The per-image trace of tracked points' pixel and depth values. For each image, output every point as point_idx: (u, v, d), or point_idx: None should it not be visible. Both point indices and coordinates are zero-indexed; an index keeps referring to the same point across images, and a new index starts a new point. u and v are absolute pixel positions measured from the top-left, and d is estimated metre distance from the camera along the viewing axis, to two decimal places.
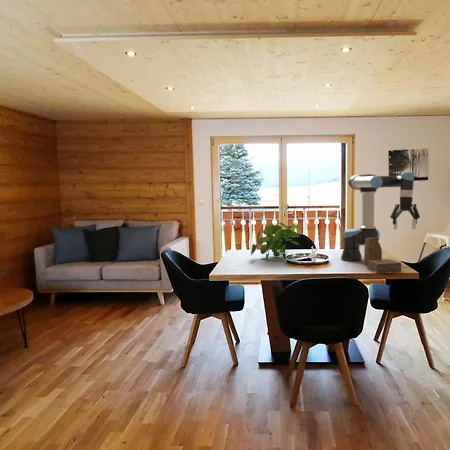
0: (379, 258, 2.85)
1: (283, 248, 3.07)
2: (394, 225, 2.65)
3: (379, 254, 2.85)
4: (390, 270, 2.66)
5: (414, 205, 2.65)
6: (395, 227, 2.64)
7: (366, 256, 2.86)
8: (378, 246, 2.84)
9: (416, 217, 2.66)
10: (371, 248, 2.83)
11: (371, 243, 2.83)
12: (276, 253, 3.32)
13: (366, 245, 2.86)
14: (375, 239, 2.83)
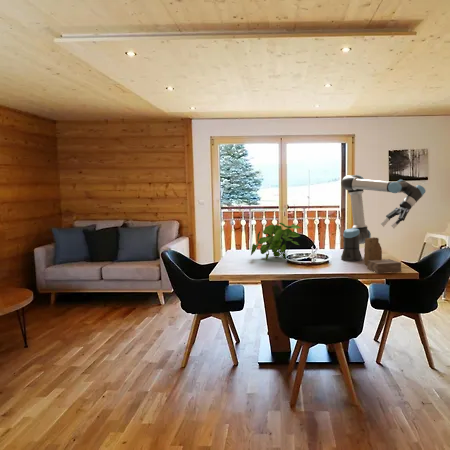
0: (379, 258, 2.85)
1: (283, 248, 3.07)
2: (394, 224, 2.80)
3: (379, 254, 2.85)
4: (390, 270, 2.66)
5: None
6: (394, 226, 2.80)
7: (366, 256, 2.86)
8: (378, 246, 2.84)
9: (389, 218, 2.95)
10: (371, 248, 2.83)
11: (371, 243, 2.83)
12: (276, 253, 3.32)
13: (366, 245, 2.86)
14: (375, 239, 2.83)
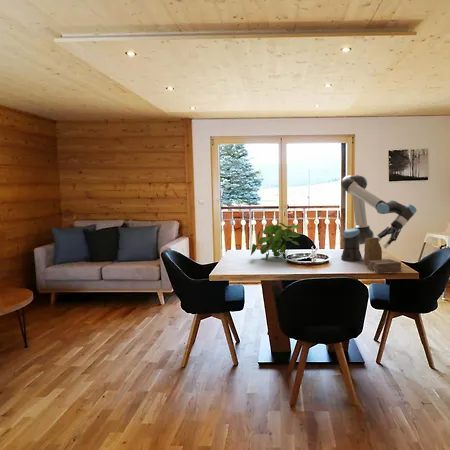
0: (379, 258, 2.85)
1: (283, 248, 3.07)
2: (386, 244, 2.79)
3: (379, 254, 2.85)
4: (390, 270, 2.66)
5: None
6: (386, 246, 2.79)
7: (366, 256, 2.86)
8: (378, 246, 2.84)
9: (381, 237, 2.94)
10: (371, 248, 2.83)
11: (371, 243, 2.83)
12: (276, 253, 3.32)
13: (366, 245, 2.86)
14: (375, 239, 2.83)
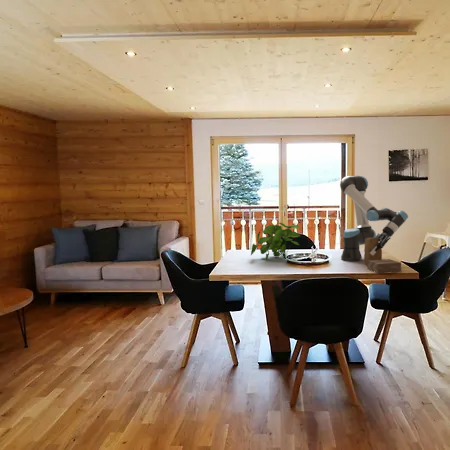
0: (379, 258, 2.85)
1: (283, 248, 3.07)
2: (373, 251, 2.83)
3: (379, 254, 2.84)
4: (390, 270, 2.66)
5: None
6: (373, 253, 2.83)
7: (366, 256, 2.86)
8: None
9: None
10: (371, 248, 2.83)
11: (371, 243, 2.83)
12: (276, 253, 3.32)
13: (366, 245, 2.86)
14: (375, 239, 2.83)
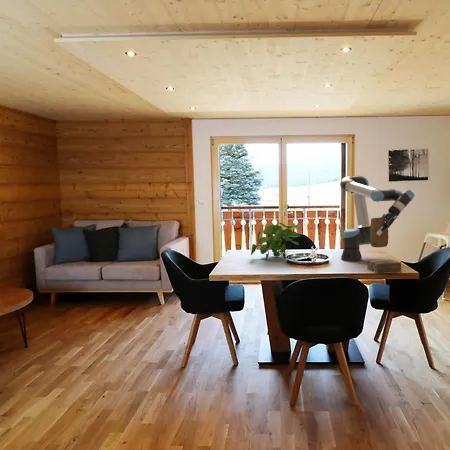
0: (386, 238, 2.76)
1: (283, 248, 3.07)
2: (379, 231, 2.74)
3: (385, 234, 2.76)
4: (390, 270, 2.66)
5: None
6: (379, 233, 2.74)
7: (372, 237, 2.77)
8: None
9: None
10: (377, 228, 2.74)
11: (377, 223, 2.74)
12: (276, 253, 3.32)
13: (372, 225, 2.77)
14: (381, 219, 2.75)
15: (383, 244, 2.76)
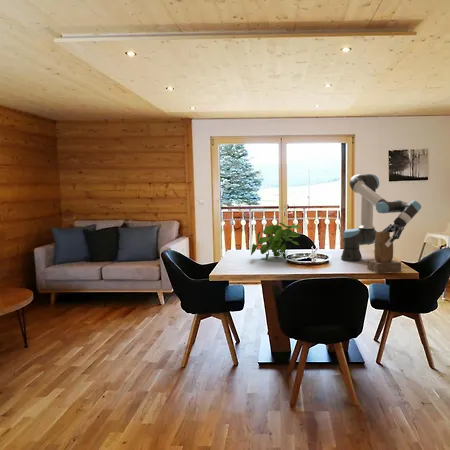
0: (390, 253, 2.68)
1: (283, 248, 3.07)
2: (388, 242, 2.63)
3: (390, 249, 2.68)
4: (390, 270, 2.66)
5: None
6: (388, 245, 2.64)
7: (376, 251, 2.70)
8: None
9: None
10: (382, 242, 2.67)
11: (382, 237, 2.67)
12: (276, 253, 3.32)
13: (376, 240, 2.70)
14: (386, 233, 2.67)
15: (388, 259, 2.68)
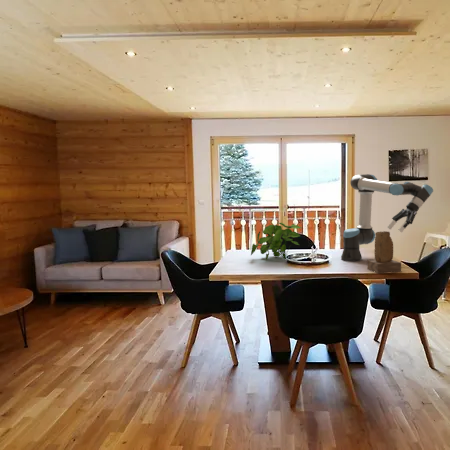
0: (390, 253, 2.68)
1: (283, 248, 3.07)
2: (402, 227, 2.66)
3: (390, 249, 2.68)
4: (390, 270, 2.66)
5: None
6: (402, 230, 2.66)
7: (377, 251, 2.70)
8: (389, 240, 2.67)
9: (396, 220, 2.80)
10: (382, 242, 2.67)
11: (382, 237, 2.66)
12: (276, 253, 3.32)
13: (376, 240, 2.69)
14: (386, 233, 2.67)
15: (388, 259, 2.68)
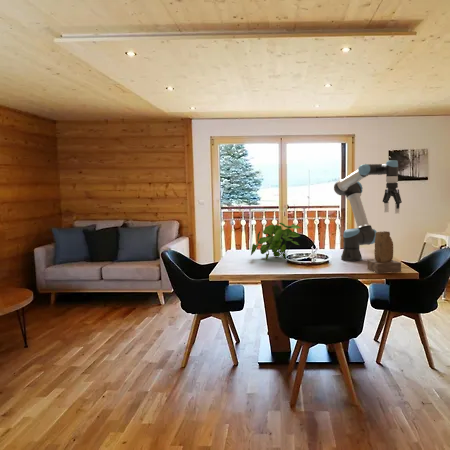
0: (390, 253, 2.68)
1: (283, 248, 3.07)
2: (396, 209, 2.82)
3: (390, 249, 2.68)
4: (390, 270, 2.66)
5: None
6: (398, 211, 2.82)
7: (377, 251, 2.70)
8: (389, 240, 2.67)
9: (387, 201, 2.96)
10: (382, 242, 2.67)
11: (382, 237, 2.66)
12: (276, 253, 3.32)
13: (376, 240, 2.69)
14: (386, 233, 2.67)
15: (388, 259, 2.68)
